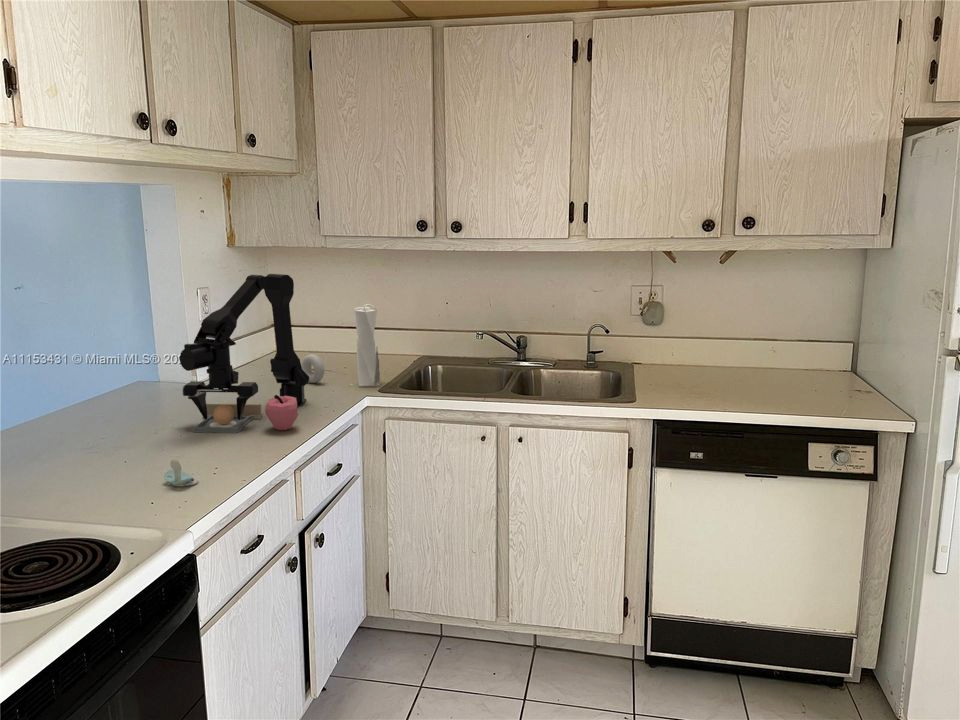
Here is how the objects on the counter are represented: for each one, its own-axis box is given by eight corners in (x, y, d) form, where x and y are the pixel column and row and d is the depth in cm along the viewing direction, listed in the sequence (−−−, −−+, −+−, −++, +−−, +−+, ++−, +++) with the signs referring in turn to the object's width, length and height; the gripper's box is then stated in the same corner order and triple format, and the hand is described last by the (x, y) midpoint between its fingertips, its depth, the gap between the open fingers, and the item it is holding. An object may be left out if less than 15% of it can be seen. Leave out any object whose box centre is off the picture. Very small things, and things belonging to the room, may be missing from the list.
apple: (298, 433, 192) (296, 397, 190) (264, 435, 190) (262, 398, 188) (300, 423, 201) (299, 388, 199) (268, 424, 200) (266, 389, 198)
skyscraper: (380, 387, 241) (378, 304, 235) (355, 388, 240) (353, 304, 234) (380, 381, 249) (378, 301, 243) (356, 382, 248) (354, 301, 242)
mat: (251, 419, 204) (251, 415, 203) (237, 432, 192) (237, 428, 192) (209, 419, 204) (209, 415, 203) (192, 432, 192) (192, 427, 192)
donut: (327, 384, 245) (326, 355, 243) (319, 386, 242) (318, 357, 240) (307, 379, 251) (306, 351, 249) (299, 381, 248) (298, 353, 246)
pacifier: (187, 476, 162) (161, 483, 157) (186, 449, 161) (159, 455, 156) (204, 484, 157) (177, 491, 152) (203, 457, 156) (176, 463, 151)
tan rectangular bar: (262, 416, 207) (262, 402, 206) (259, 419, 204) (258, 405, 203) (207, 415, 207) (206, 402, 206) (203, 418, 204) (202, 404, 203)
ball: (236, 422, 200) (237, 403, 199) (229, 428, 195) (231, 409, 194) (216, 419, 200) (218, 400, 199) (209, 425, 195) (210, 406, 194)
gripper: (262, 358, 202) (265, 411, 205) (196, 357, 202) (200, 410, 205) (250, 366, 191) (253, 423, 194) (179, 365, 191) (184, 422, 194)
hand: (222, 419), depth 197 cm, fingers open, 9 cm apart
